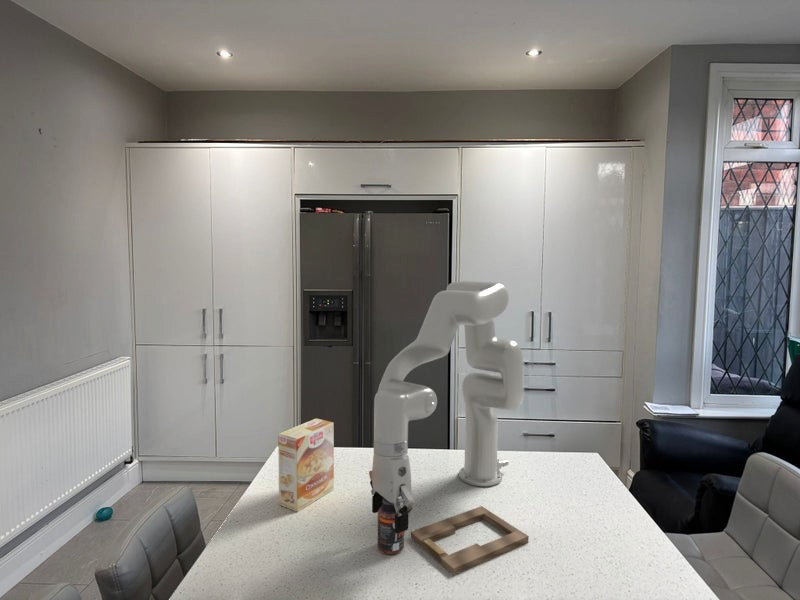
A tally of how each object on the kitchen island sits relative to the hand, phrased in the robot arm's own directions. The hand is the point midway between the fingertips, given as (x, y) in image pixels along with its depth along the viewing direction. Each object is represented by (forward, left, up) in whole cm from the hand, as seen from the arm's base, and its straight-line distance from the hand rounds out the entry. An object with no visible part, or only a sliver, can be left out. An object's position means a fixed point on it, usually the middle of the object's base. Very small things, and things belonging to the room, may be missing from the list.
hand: (389, 520), depth 110 cm
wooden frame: (-17, +7, -7) cm, 20 cm away
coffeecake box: (+7, -32, -7) cm, 34 cm away
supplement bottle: (0, 0, -7) cm, 7 cm away
